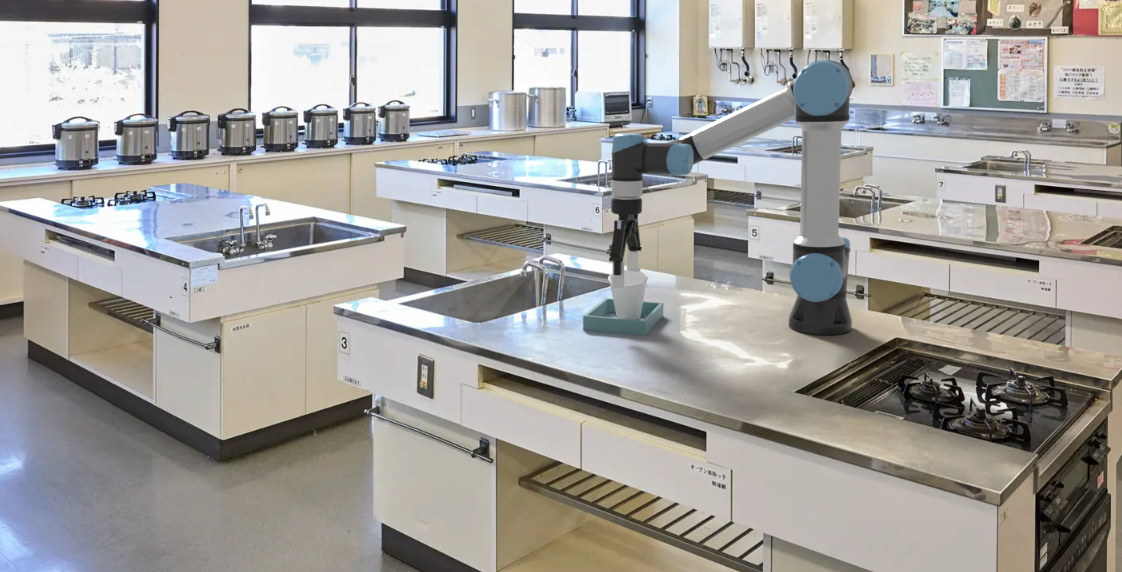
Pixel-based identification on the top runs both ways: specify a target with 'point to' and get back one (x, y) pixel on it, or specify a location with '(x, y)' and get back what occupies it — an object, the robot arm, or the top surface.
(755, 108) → the robot arm
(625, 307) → the cup
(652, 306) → the walled box
